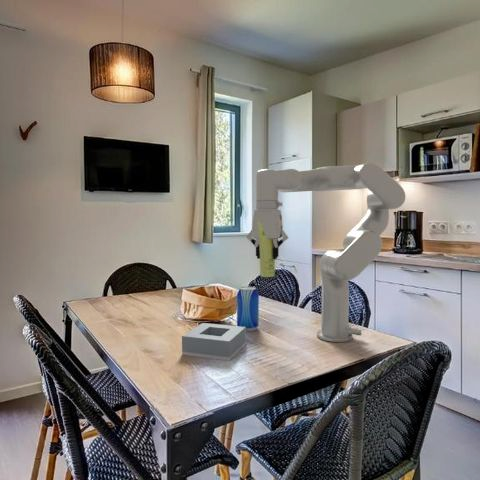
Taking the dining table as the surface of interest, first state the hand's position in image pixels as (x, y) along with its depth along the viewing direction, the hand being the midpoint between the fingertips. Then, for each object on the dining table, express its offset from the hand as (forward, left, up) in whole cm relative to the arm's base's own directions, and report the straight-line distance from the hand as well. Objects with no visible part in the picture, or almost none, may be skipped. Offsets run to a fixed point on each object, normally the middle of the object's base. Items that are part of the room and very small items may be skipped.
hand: (267, 258), depth 136 cm
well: (+14, +14, -29) cm, 35 cm away
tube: (0, 0, -7) cm, 7 cm away
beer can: (+11, -12, -30) cm, 34 cm away
